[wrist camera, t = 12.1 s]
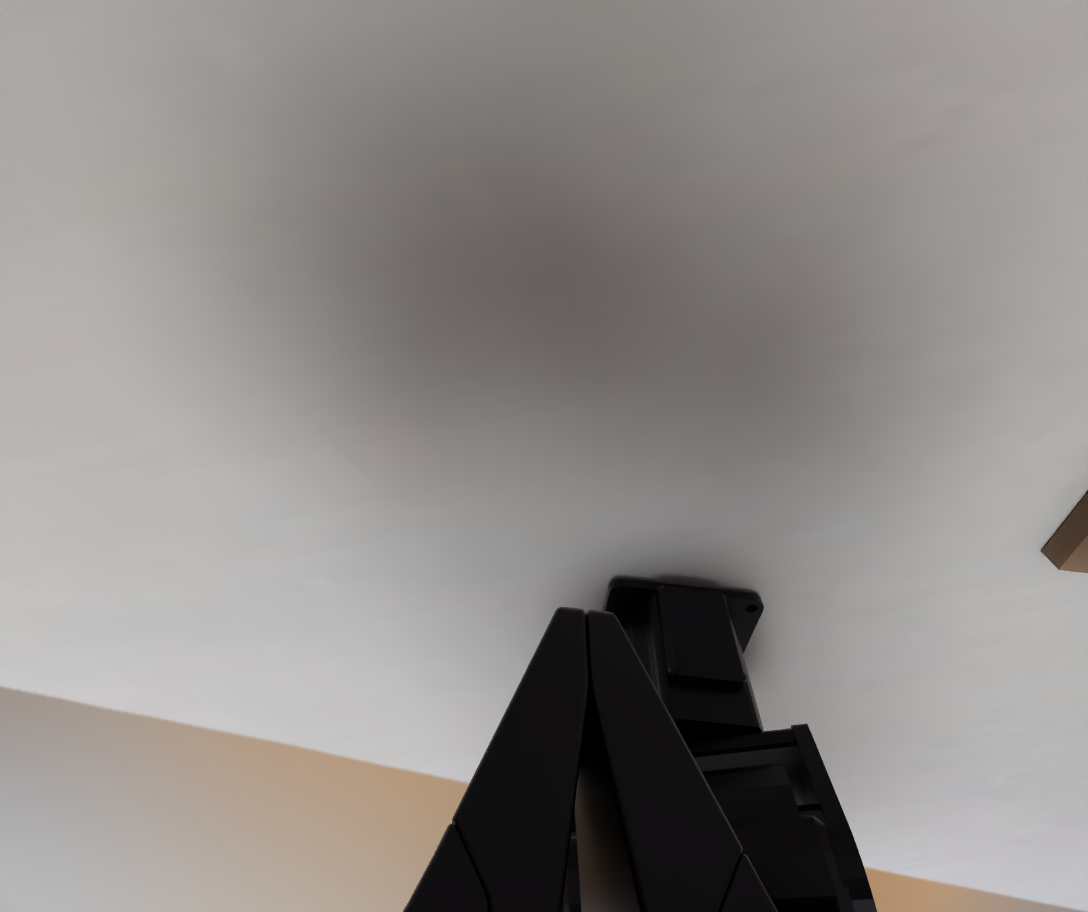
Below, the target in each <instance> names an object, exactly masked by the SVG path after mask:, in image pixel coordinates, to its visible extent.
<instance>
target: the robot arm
mask: <svg viewBox="0 0 1088 912" xmlns="http://www.w3.org/2000/svg"><path fill="white" fill-rule="evenodd" d="M618 590H624V591H618ZM763 608H764V606H763V603H762V600H761V598H760V596H759V595H757V594H754V593H746V592H737V591H728V590H719V589H710V588H701V587H692V586H683V585H674V584H664V583H655V582H646V581H637V580H628V579H616V580H613V581H612V582H611V583H610V584H609V587H608V591H607V596H606V600H605V604H604V608H603V611H596V610H589V611H587V612H586V614H585V611H584V610H582V609H577V608H568V607H559V608H558V609H557V610H556V611H555V613H554V615H553V617H552V619H551V621H550V623H549V625H548V627H547V629H546V631H545V633H544V635H543V637H542V639H541V641H540V643H539V645H538V647H537V649H536V651H535V653H534V655H533V657H532V659H531V661H530V663H529V665H528V668H527V670H526V672H525V674H524V676H523V678H522V680H521V682H520V684H519V686H518V688H517V690H516V692H515V694H514V696H513V698H512V700H511V702H510V704H509V706H508V708H507V710H506V712H505V714H504V716H503V718H502V720H501V722H500V724H499V726H498V728H497V730H496V732H495V734H494V736H493V738H492V740H491V742H490V744H489V746H488V748H487V750H486V752H485V754H484V756H483V758H482V760H481V762H480V764H479V766H478V768H477V770H476V772H475V774H474V776H473V778H472V780H471V782H470V784H469V786H468V788H467V790H466V792H465V794H464V796H463V798H462V800H461V802H460V804H459V806H458V808H457V810H456V812H455V814H454V816H453V819H452V824H450V825H449V826H448V827H447V829H446V831H445V833H444V835H443V837H442V839H441V841H440V844H439V845H438V847H437V849H436V851H435V853H434V856H433V857H432V859H431V861H430V863H429V865H428V867H427V868H426V871H425V872H424V874H423V876H422V878H421V880H420V882H419V884H418V885H417V887H416V889H415V891H414V893H413V895H412V897H411V899H410V900H409V902H408V904H407V906H406V907H405V909H404V911H403V912H877V910H876V906H875V902H874V899H873V895H872V892H871V889H870V886H869V882H868V879H867V876H866V873H865V869H864V866H863V863H862V860H861V857H860V854H859V851H858V849H857V846H856V843H855V840H854V837H853V835H852V832H851V830H850V827H849V824H848V822H847V820H846V817H845V815H844V812H843V810H842V807H841V805H840V802H839V800H838V798H837V795H836V793H835V790H834V788H833V785H832V783H831V781H830V778H829V776H828V773H827V771H826V768H825V766H824V763H823V761H822V759H821V756H820V754H819V751H818V749H817V746H816V744H815V741H814V739H813V737H812V734H811V732H810V729H809V727H808V725H807V724H800V725H791V728H790V729H782V730H774V731H765V732H764V730H763V726H762V722H761V719H760V715H759V712H758V708H757V704H756V701H755V697H754V693H753V690H752V686H751V683H750V679H749V675H748V672H747V668H746V664H745V661H744V657H743V653H744V651H745V648H746V646H747V644H748V642H749V640H750V638H751V635H752V633H753V631H754V629H755V627H756V625H757V622H758V620H759V618H760V616H761V614H762V611H763Z"/></svg>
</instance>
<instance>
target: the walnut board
mask: <svg viewBox="0 0 1088 912" xmlns="http://www.w3.org/2000/svg"><path fill="white" fill-rule="evenodd" d="M1041 552H1042V553H1043V554H1044V555H1045V556H1046V557H1047V558H1048V559H1049V560H1050V561H1051V562H1052V563H1053V564H1054V565H1055V566H1056V567H1057V569H1058V570H1066V571H1075V572H1084V573H1088V492H1087V494H1086V495H1085V496H1084V497H1083V499H1082V500H1081V501H1080V503H1079V504H1078V505H1077V506H1076V508H1075V509H1074V510H1073V511H1072V513H1071V514H1070V515H1069V517H1068V518H1067V519H1066V520H1065V522H1064V523H1063V524H1062V525H1061V527H1060V528H1059V529H1058V530H1057V532H1056V533H1055V534H1054V536H1053V537H1052V538H1051V539H1050V541H1049V542H1048V543H1047V544H1046V546H1045V547H1044V548H1043V550H1042V551H1041Z"/></svg>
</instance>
